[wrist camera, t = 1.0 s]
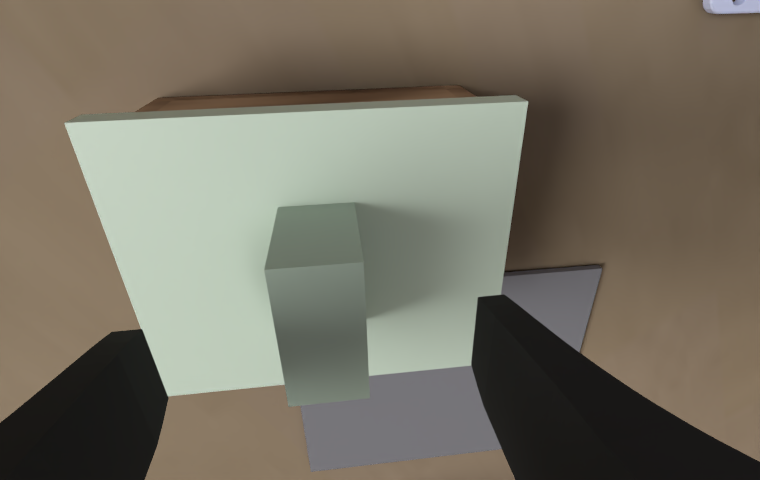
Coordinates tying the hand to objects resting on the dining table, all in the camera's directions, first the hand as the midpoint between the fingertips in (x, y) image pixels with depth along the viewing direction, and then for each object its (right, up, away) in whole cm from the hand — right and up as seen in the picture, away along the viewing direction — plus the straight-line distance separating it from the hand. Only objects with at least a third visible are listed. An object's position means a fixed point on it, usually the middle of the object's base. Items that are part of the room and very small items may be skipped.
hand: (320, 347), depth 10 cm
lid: (0, +2, +3) cm, 4 cm away
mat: (+4, -4, +12) cm, 14 cm away
